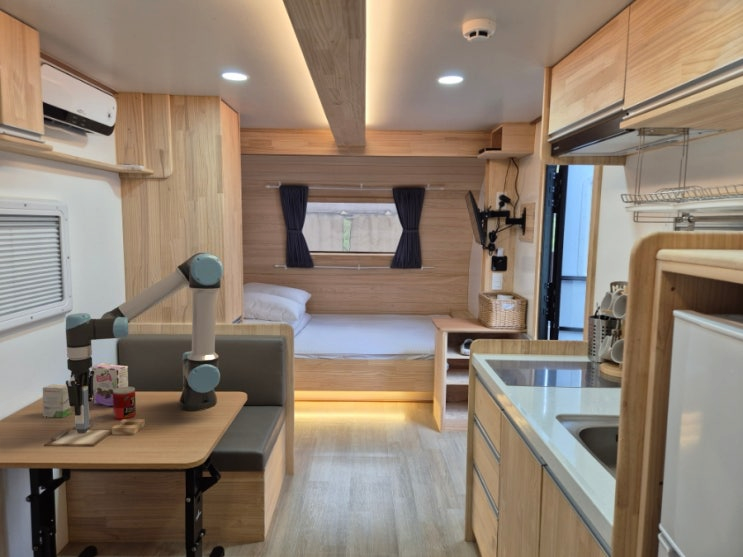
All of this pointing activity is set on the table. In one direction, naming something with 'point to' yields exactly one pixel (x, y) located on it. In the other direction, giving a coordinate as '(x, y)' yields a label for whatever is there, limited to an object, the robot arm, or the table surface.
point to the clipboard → (79, 437)
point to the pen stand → (128, 427)
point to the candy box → (108, 382)
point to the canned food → (124, 403)
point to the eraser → (84, 427)
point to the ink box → (56, 401)
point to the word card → (88, 427)
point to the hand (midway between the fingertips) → (82, 421)
